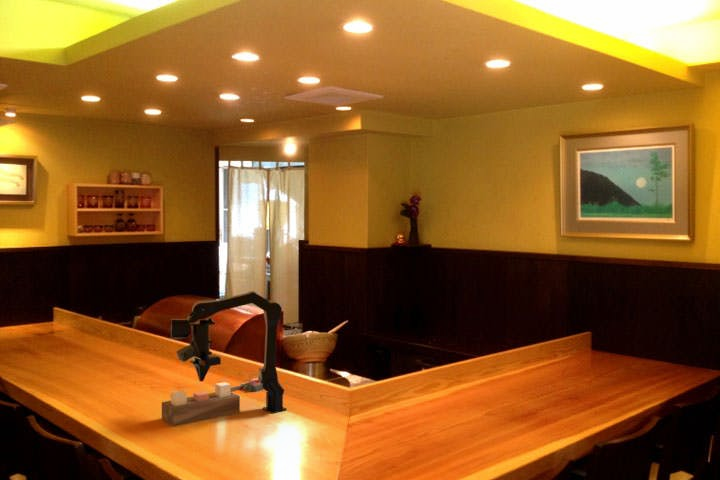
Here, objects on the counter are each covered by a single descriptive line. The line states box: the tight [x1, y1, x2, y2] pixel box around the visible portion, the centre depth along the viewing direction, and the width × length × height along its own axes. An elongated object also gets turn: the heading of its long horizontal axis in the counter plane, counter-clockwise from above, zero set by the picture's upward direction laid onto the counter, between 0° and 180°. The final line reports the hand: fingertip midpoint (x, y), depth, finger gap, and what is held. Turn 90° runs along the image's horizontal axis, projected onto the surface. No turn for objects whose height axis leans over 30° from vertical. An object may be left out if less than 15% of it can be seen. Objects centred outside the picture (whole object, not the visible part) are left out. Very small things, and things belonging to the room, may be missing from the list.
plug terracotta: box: [192, 390, 210, 402], centre depth 246 cm, size 4×4×6 cm
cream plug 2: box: [214, 381, 232, 397], centre depth 251 cm, size 4×4×6 cm
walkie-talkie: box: [231, 377, 265, 393], centre depth 282 cm, size 9×4×20 cm
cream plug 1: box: [170, 389, 187, 406], centre depth 241 cm, size 4×4×6 cm
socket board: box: [161, 391, 241, 427], centre depth 246 cm, size 10×25×6 cm, turn 129°
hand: (201, 381), depth 246 cm, fingers closed
